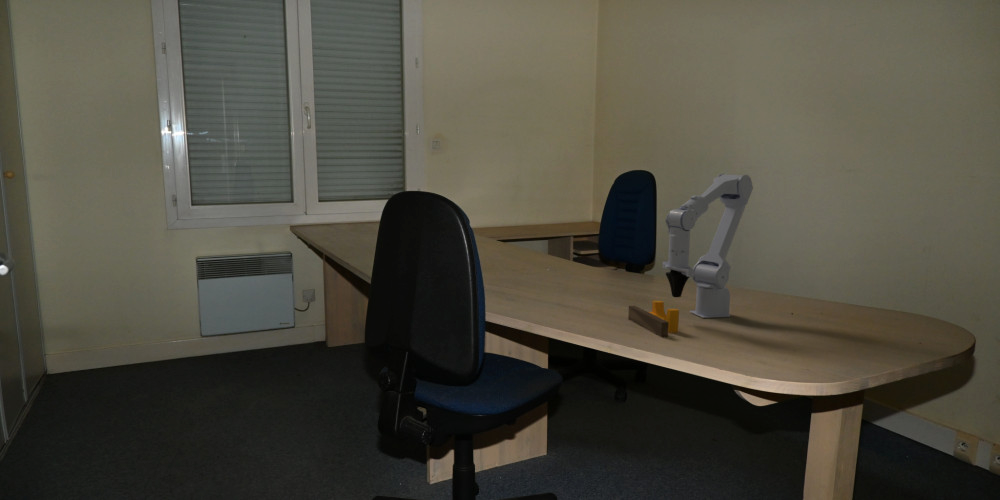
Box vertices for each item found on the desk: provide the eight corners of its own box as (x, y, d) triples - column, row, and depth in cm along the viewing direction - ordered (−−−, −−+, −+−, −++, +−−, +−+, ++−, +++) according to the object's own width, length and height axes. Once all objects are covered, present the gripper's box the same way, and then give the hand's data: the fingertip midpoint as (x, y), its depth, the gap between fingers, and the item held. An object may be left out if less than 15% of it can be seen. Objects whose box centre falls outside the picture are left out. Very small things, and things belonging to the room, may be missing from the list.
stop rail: (634, 318, 198) (635, 305, 198) (667, 336, 179) (668, 322, 178) (628, 319, 198) (628, 305, 197) (661, 337, 179) (661, 322, 178)
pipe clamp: (645, 322, 195) (646, 301, 194) (659, 322, 195) (660, 300, 194) (663, 333, 183) (664, 310, 182) (677, 333, 184) (679, 310, 183)
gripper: (654, 247, 199) (652, 292, 201) (679, 255, 185) (677, 302, 187) (675, 246, 201) (673, 291, 203) (702, 254, 187) (699, 301, 189)
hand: (676, 296), depth 195 cm, fingers closed
